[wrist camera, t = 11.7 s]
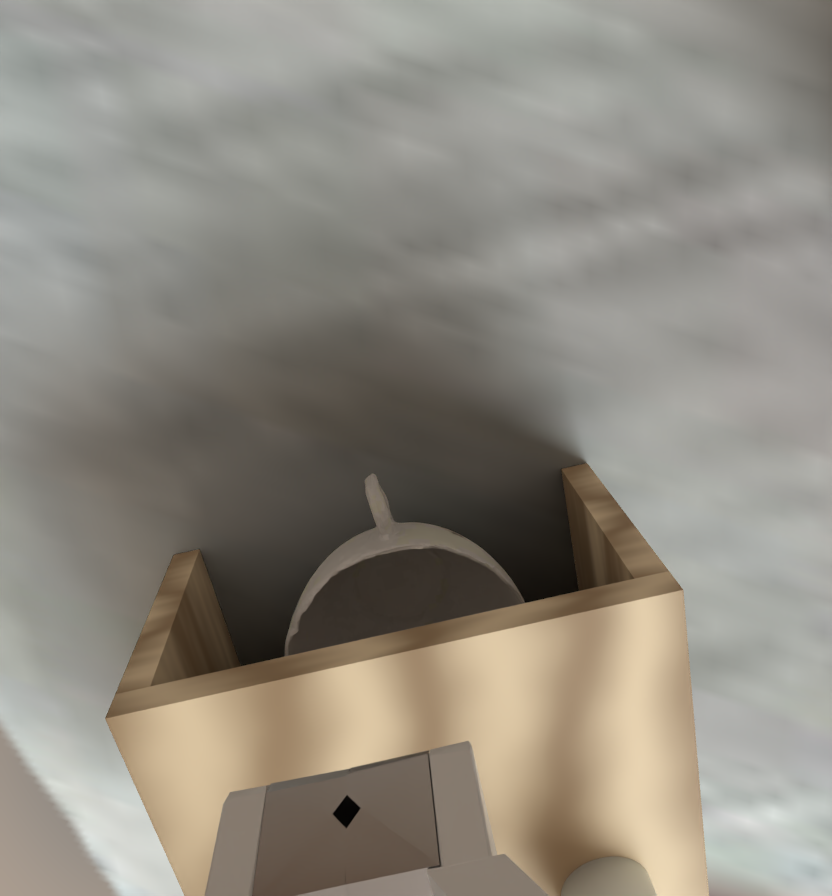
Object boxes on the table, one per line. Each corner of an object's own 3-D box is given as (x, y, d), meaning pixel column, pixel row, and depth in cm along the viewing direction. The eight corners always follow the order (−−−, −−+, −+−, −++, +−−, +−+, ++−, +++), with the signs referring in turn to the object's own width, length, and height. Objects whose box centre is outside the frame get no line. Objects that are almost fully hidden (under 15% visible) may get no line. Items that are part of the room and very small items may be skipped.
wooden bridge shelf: (587, 463, 44) (683, 590, 32) (622, 734, 52) (711, 923, 39) (173, 555, 44) (105, 718, 31) (268, 813, 51) (244, 1028, 39)
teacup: (519, 642, 48) (551, 733, 41) (322, 683, 48) (317, 782, 41) (482, 419, 43) (512, 476, 35) (259, 464, 42) (241, 532, 35)
